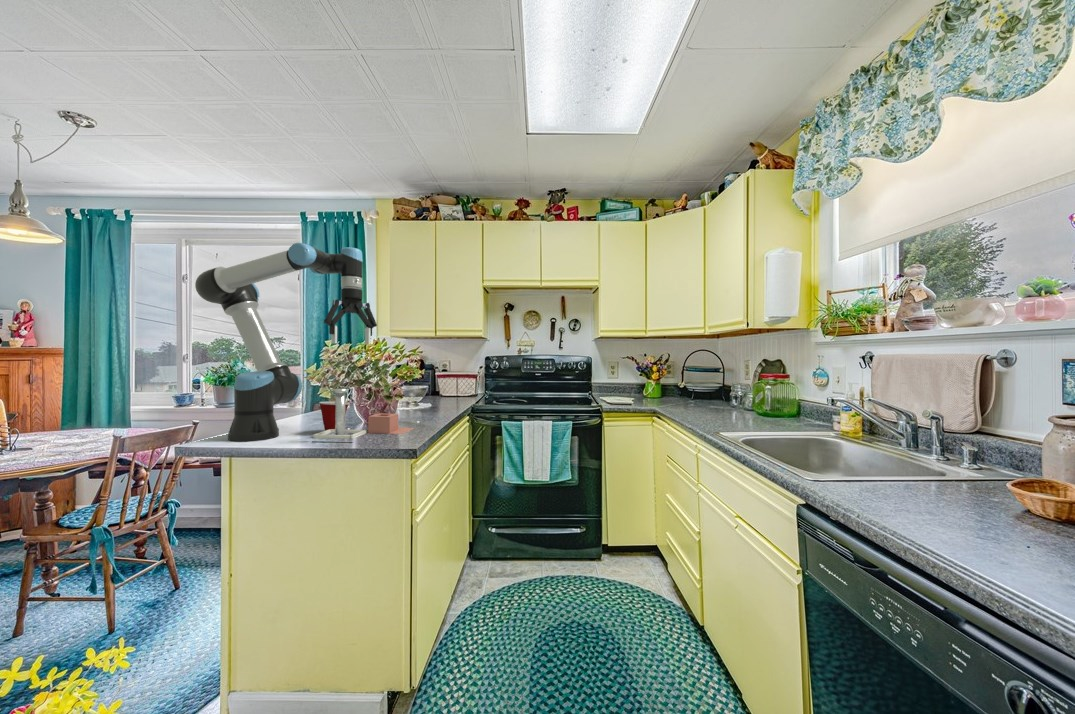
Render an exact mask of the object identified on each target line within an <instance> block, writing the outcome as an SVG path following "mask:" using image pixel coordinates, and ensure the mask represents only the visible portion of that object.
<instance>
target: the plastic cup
mask: <svg viewBox="0 0 1075 714" xmlns="http://www.w3.org/2000/svg"><path fill="white" fill-rule="evenodd" d="M318 404H319V405H320V407H319V408H320V411H321V417H322V418H321V419H322V423H323V427H324V431H326V430H329V429H335V401H319V402H318ZM350 404H351V403H350V402H348V401H345V416H346V414H347V409H348V407H349V405H350Z"/></svg>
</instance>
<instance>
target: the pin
mask: <svg viewBox="0 0 1075 714" xmlns="http://www.w3.org/2000/svg"><path fill="white" fill-rule="evenodd" d="M348 392H349V388H333V389H332V393H333V394H334V395H335V396H334V397H335V399H334V402H335V434H334V435H346V433H345V430H346V415H345V402H346V393H348Z"/></svg>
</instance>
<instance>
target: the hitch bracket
mask: <svg viewBox="0 0 1075 714" xmlns="http://www.w3.org/2000/svg"><path fill="white" fill-rule="evenodd" d="M367 423H368V424H367V426H368V428H367V429H368V430H367V433H368V434H387V435H388V434H389V435H390V434H392V435H397V434H399V435H403V434H406V433H407V432H410V431H412V430H414V429H415V427H399V413H380V412H379V413H375V414H372V415H368V422H367Z"/></svg>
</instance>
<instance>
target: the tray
mask: <svg viewBox="0 0 1075 714" xmlns="http://www.w3.org/2000/svg"><path fill="white" fill-rule="evenodd" d="M331 433H335V429H329V430H326V431H325V430H324V431H320V432H317V433H314V434H312V435H311V438H312V439H332V440H333V439H335V440H336V439H337V440H338V439H340V440H353V439H355V438H358V437H360V436H363V435H366V434H367V433H368V430H367V429H345V435H335V434H331ZM346 434H347V435H346ZM350 434H351V435H350ZM311 442H312V443H324V444H326V443H331V444H334V443H335V444H352V443H354V442H352V441H325V440H324V441H323V440H322V441H320V440H319V441H318V440H317V441H316V440H313V441H312V440H311Z"/></svg>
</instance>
